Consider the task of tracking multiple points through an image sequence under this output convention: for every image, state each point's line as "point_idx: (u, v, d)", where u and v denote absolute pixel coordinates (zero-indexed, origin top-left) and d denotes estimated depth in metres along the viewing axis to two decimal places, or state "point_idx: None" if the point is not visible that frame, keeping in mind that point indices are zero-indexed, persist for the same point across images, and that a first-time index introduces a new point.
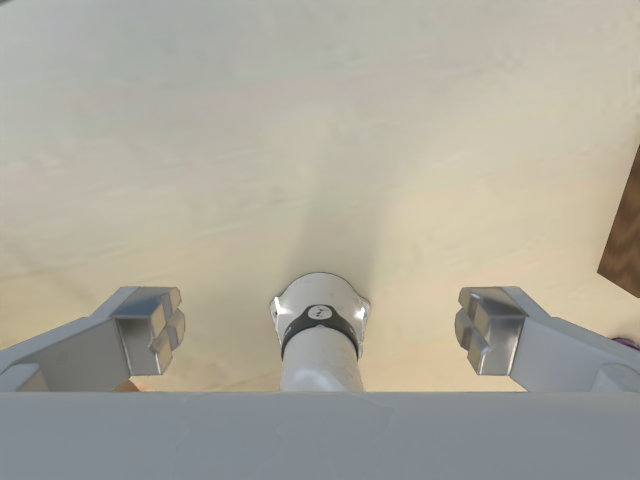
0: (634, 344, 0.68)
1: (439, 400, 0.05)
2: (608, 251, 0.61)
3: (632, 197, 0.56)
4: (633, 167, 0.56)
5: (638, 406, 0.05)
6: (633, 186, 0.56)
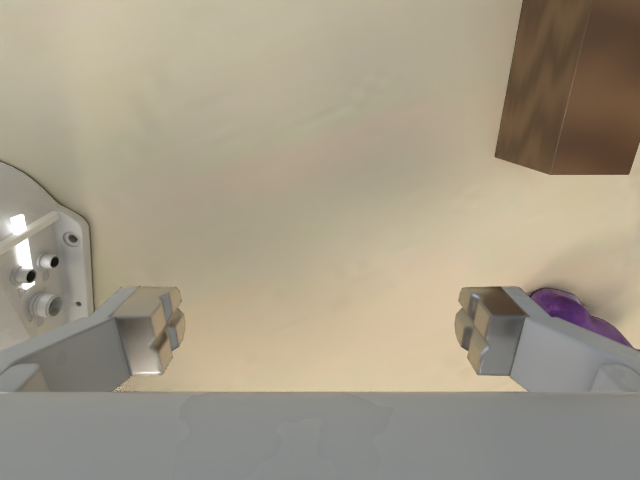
0: (574, 298, 0.39)
1: (439, 400, 0.05)
2: (508, 106, 0.31)
3: None
4: None
5: (638, 406, 0.05)
6: None
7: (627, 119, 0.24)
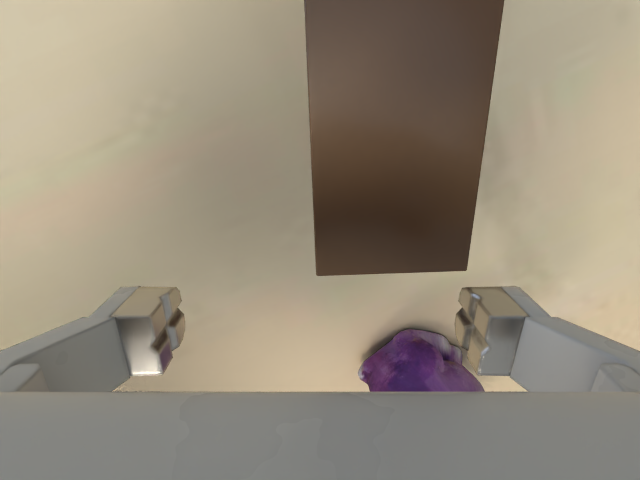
0: (440, 340, 0.34)
1: (439, 400, 0.05)
2: None
3: None
4: None
5: (638, 406, 0.05)
6: None
7: (439, 173, 0.12)
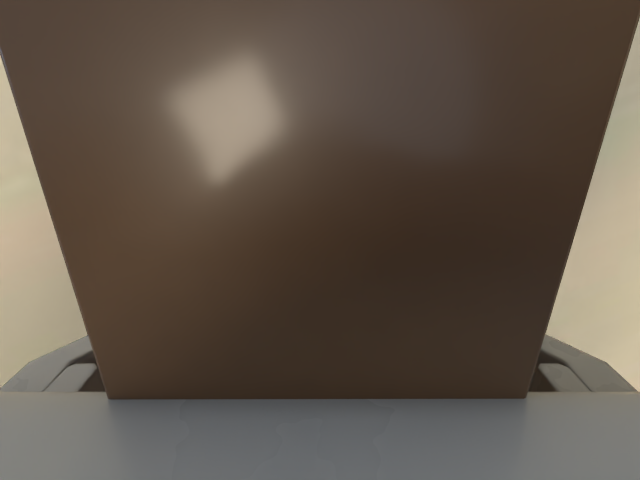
0: None
1: (439, 400, 0.05)
2: None
3: None
4: None
5: (638, 406, 0.05)
6: None
7: None
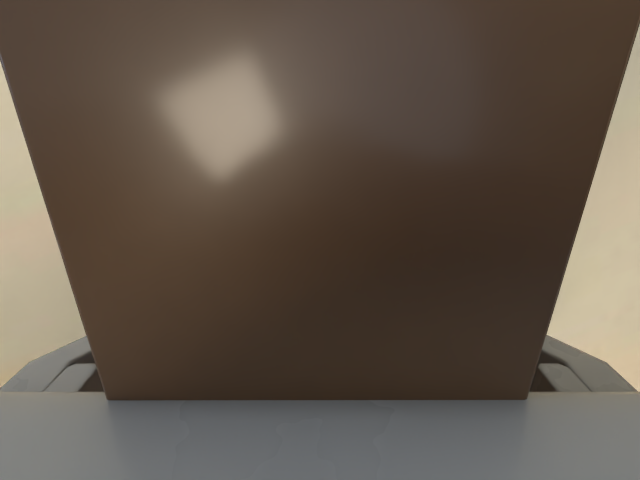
0: None
1: (439, 400, 0.05)
2: None
3: None
4: None
5: (638, 406, 0.05)
6: None
7: None
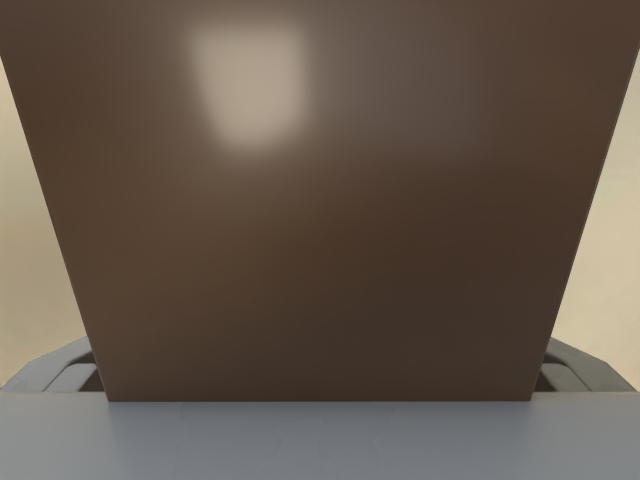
0: None
1: None
2: None
3: None
4: None
5: (638, 406, 0.05)
6: None
7: None
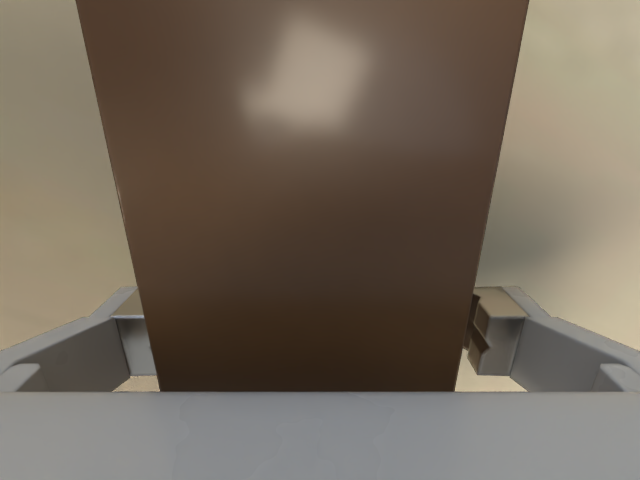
0: None
1: (439, 400, 0.05)
2: None
3: None
4: None
5: (638, 406, 0.05)
6: None
7: (384, 375, 0.07)
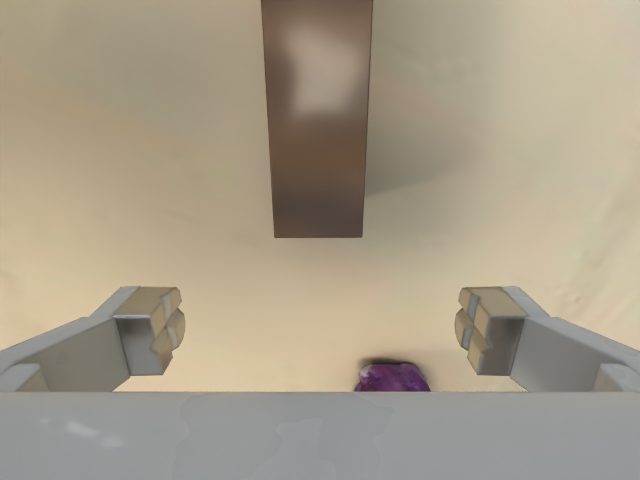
0: None
1: (439, 400, 0.05)
2: None
3: None
4: None
5: (638, 406, 0.05)
6: None
7: (341, 180, 0.22)
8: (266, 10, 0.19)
